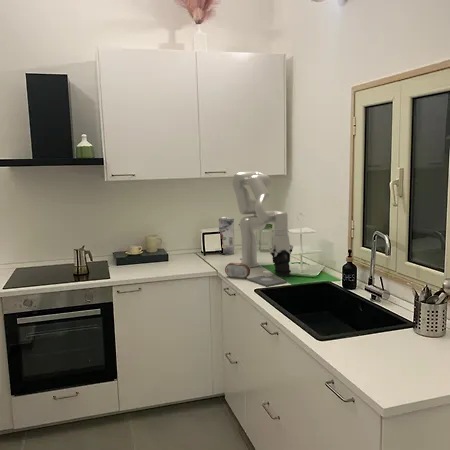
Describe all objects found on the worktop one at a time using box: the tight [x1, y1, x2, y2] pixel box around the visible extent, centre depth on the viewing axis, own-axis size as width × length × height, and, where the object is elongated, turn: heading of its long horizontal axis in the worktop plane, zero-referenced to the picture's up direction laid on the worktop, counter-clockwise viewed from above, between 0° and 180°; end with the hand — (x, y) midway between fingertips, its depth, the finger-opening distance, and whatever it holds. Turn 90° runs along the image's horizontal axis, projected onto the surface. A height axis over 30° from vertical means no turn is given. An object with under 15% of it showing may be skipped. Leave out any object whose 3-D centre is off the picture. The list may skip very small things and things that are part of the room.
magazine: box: [271, 250, 292, 278], centre depth 278 cm, size 4×13×15 cm, turn 29°
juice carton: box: [218, 216, 235, 256], centre depth 342 cm, size 9×10×27 cm
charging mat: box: [246, 270, 288, 288], centre depth 265 cm, size 18×14×4 cm
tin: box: [224, 262, 251, 279], centre depth 274 cm, size 15×3×8 cm, turn 66°
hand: (281, 261), depth 278 cm, fingers open, 9 cm apart
